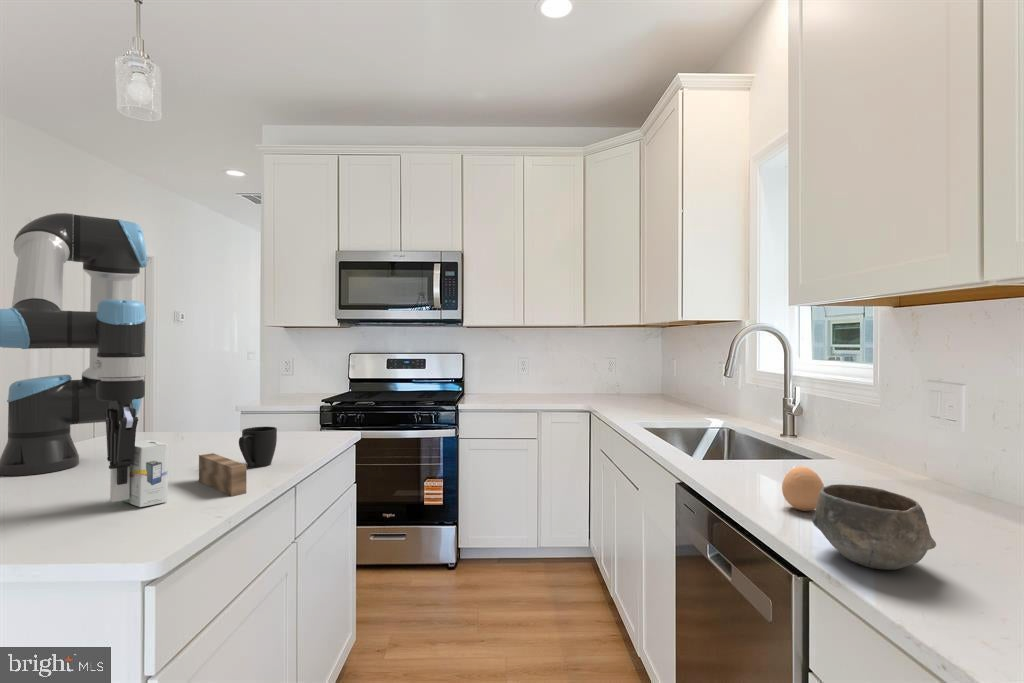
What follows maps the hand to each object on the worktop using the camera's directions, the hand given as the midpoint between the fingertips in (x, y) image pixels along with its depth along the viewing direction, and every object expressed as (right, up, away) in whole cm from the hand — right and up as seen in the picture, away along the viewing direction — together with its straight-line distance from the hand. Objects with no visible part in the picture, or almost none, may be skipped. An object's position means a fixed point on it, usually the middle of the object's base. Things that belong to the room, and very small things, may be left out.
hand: (119, 499), depth 99 cm
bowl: (+130, -2, -22) cm, 132 cm away
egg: (+134, -3, +1) cm, 134 cm away
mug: (+10, -2, +33) cm, 34 cm away
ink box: (+2, -2, +3) cm, 4 cm away
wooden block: (+12, -2, +14) cm, 19 cm away
